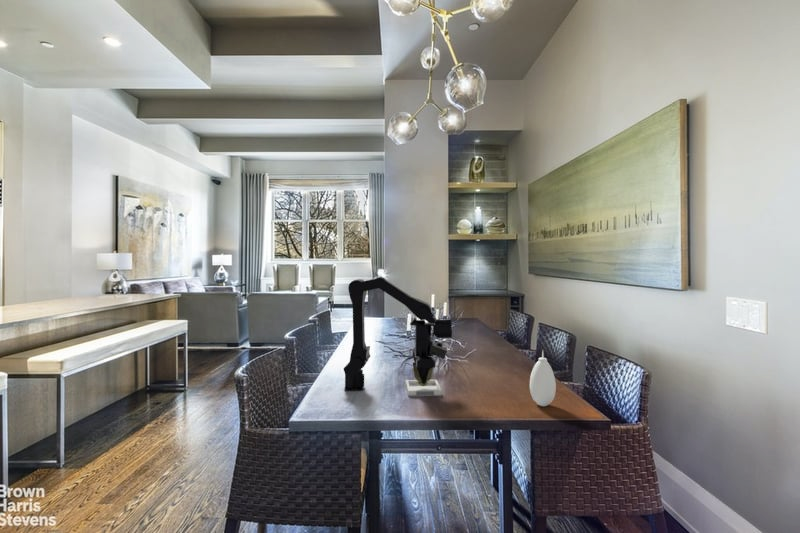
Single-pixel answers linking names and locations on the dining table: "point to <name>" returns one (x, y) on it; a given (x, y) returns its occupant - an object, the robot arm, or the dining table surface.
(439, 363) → the dining table surface
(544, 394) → the air blower bulb
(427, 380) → the brown hollow flared piece
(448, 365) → the dining table surface
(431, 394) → the white tray
